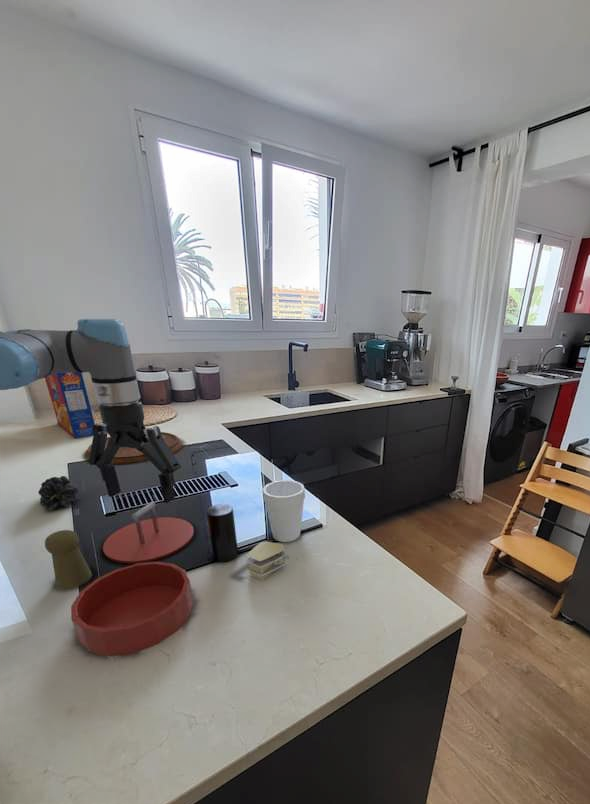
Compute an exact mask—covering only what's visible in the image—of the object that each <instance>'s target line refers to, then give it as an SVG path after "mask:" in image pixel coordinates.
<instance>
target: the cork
mask: <svg viewBox="0 0 590 804" xmlns="http://www.w3.org/2000/svg"><path fill="white" fill-rule="evenodd" d="M79 544H80V538H79V535H78V533H77V532H75V531H73V530H70V529H63V530H58V531H55V532H52V533H50V534H49V535H47V537H46V538H45V540H44V547H45V550H46V551H47V552H48V553H49V554H51V559H52V565H53V573H54V578H55V585H56V587H57V588H58V589H61V590H69V589H74V588H78V587H80V586H82V585H84V584H85V583H88V582H89V581H90V579H92V576H93V573H92V570H91V568H90V566H89V565H88V563H87V561H86V559H85V558H84V555H83V553H82V551H81V549H80V548H79Z"/></svg>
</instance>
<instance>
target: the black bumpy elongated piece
mask: <svg viewBox="0 0 590 804" xmlns="http://www.w3.org/2000/svg"><path fill="white" fill-rule="evenodd" d="M40 485H41V486H40V488H39V490H38V492H37V493H38V495H39V496H40V498H39V500H40V501H39V505H40V506H41V507H45V508H46V509H47V510H49V511H53V510H55V508H56V509H62V508H69V507H71V505H72V504H73V503H75V501H76V499H75V498H76V494H78V493H79V488H77V487H76V486H75V487H74V485H73V484H71V480H70V479H69V478H68V477H67V476H66V475H61V476H60V477H58V476H53V477H50V478H46V479H45V480H44V481H43V482H41V484H40Z"/></svg>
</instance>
